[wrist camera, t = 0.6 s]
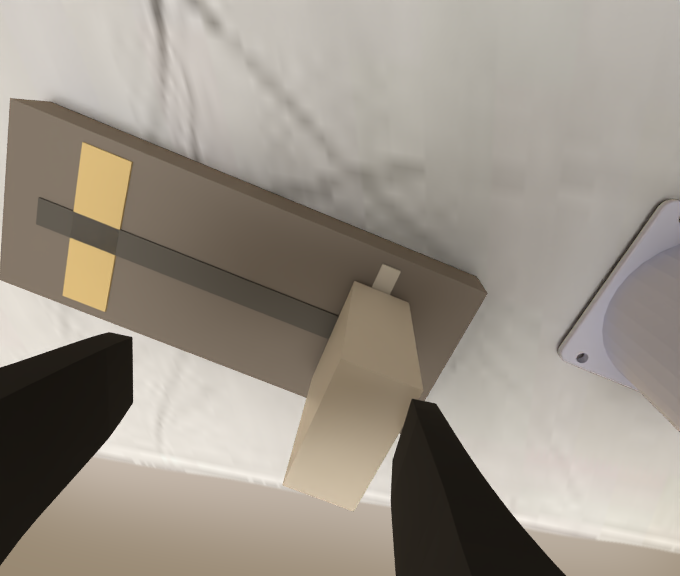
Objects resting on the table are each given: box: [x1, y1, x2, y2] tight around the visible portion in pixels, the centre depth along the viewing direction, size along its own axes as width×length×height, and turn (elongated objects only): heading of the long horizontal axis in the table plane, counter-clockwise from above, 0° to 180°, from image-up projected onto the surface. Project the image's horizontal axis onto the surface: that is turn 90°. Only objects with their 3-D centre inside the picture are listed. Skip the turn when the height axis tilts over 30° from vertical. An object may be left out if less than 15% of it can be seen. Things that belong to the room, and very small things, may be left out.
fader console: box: [0, 98, 487, 434], centre depth 18 cm, size 20×8×2 cm, turn 69°
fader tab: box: [283, 281, 423, 511], centre depth 15 cm, size 2×5×6 cm, turn 159°
